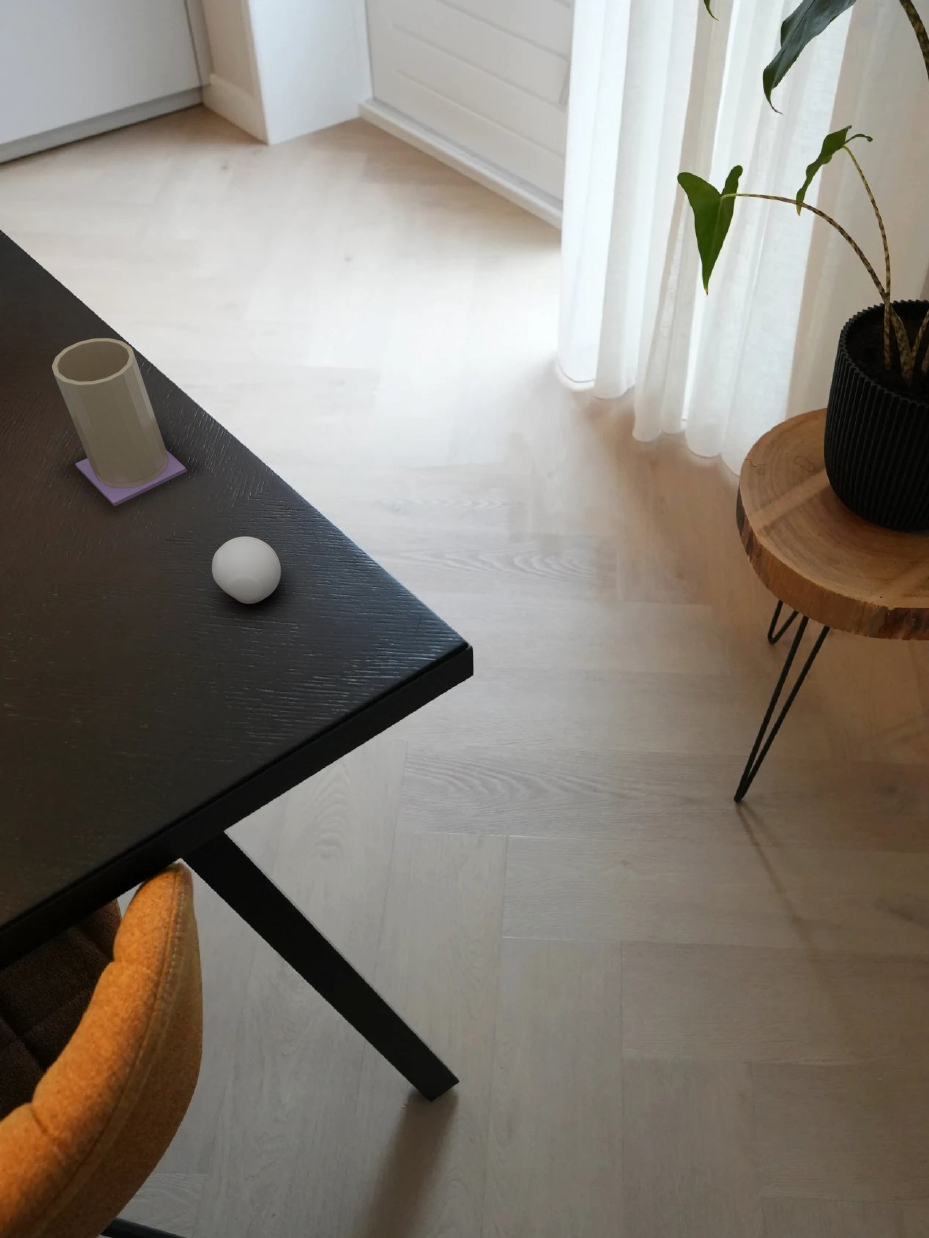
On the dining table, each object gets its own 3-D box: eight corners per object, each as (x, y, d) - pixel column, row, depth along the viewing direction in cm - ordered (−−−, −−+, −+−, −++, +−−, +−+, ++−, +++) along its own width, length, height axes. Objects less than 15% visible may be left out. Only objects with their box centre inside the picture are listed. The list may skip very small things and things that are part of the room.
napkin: (114, 507, 91) (113, 503, 91) (76, 467, 95) (74, 463, 94) (187, 471, 94) (185, 468, 94) (147, 434, 97) (146, 430, 97)
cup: (87, 489, 92) (43, 385, 84) (102, 442, 96) (62, 338, 88) (161, 487, 92) (125, 383, 85) (174, 441, 96) (140, 337, 88)
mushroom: (218, 578, 86) (202, 529, 83) (282, 566, 87) (269, 517, 83) (224, 624, 83) (208, 575, 80) (290, 611, 84) (277, 562, 80)
